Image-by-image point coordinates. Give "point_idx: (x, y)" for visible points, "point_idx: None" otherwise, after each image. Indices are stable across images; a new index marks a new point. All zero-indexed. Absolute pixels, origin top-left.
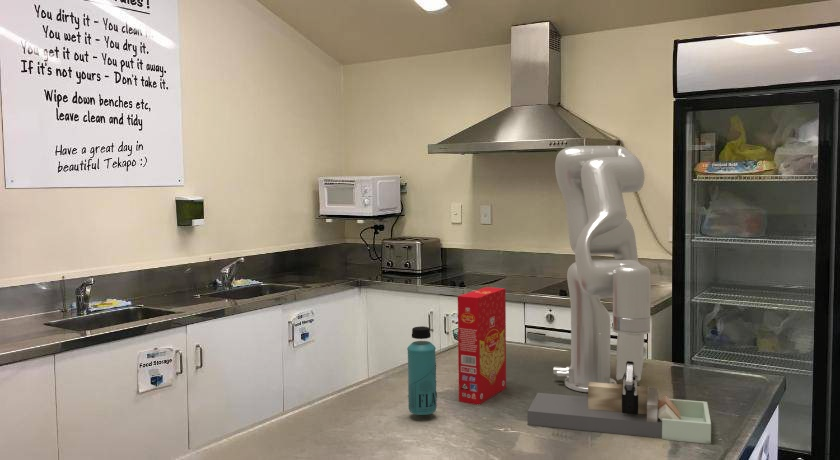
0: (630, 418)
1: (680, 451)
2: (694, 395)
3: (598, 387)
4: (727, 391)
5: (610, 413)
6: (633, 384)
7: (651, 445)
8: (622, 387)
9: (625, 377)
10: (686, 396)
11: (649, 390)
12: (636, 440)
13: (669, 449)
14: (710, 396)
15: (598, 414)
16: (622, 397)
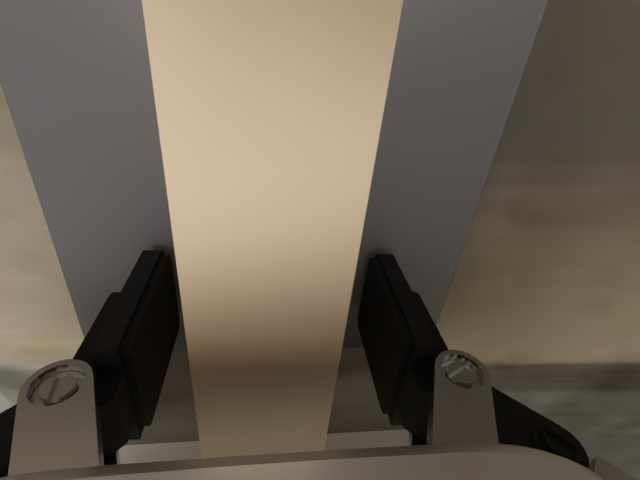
0: (108, 284)
1: (15, 396)
2: (618, 409)
3: (164, 114)
4: (628, 463)
5: (156, 165)
6: (403, 404)
7: (14, 316)
8: (236, 366)
9: (432, 419)
10: (615, 393)
11: (380, 435)
12: (42, 262)
13: (11, 369)
14: (597, 438)
15: (83, 69)
16: (105, 330)
